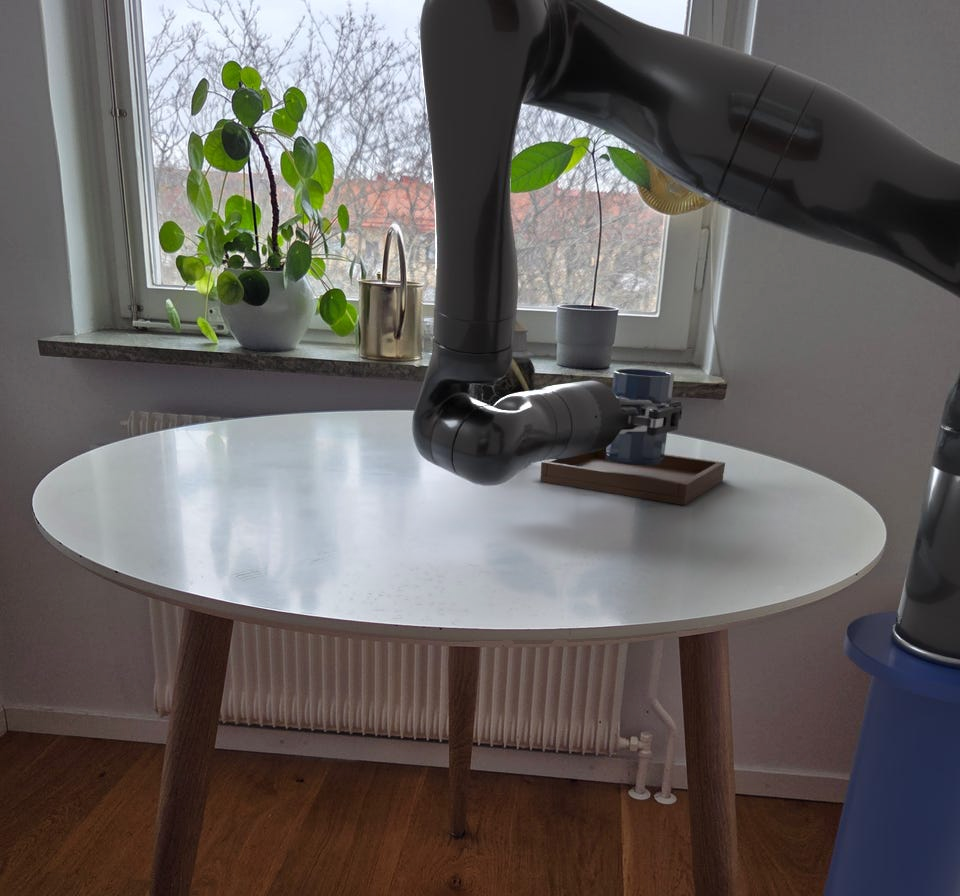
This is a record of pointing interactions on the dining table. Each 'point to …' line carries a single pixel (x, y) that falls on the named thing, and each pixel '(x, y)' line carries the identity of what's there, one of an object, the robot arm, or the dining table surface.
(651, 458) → the cup
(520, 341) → the lantern
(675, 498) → the tray
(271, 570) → the dining table surface
